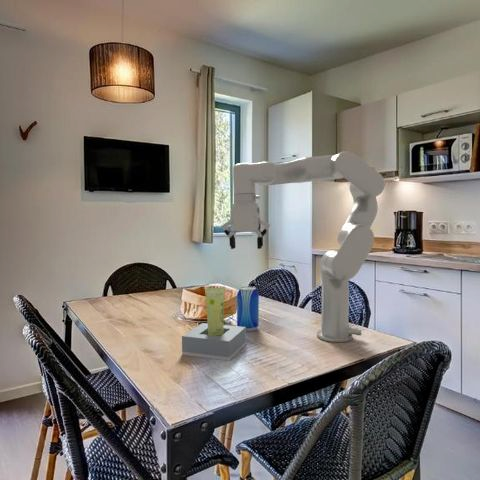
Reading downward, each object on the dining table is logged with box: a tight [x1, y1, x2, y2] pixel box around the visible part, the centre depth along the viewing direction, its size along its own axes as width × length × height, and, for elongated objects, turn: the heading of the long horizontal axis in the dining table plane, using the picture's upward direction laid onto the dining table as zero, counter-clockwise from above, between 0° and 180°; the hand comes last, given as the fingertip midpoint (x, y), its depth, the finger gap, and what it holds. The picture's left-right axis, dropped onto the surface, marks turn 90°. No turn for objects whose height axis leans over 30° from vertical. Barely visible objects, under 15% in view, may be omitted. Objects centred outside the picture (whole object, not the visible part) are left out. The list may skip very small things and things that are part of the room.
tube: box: [204, 286, 226, 336], centre depth 129 cm, size 6×5×20 cm
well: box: [181, 322, 247, 362], centre depth 129 cm, size 16×16×6 cm
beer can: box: [236, 286, 260, 332], centre depth 152 cm, size 8×8×16 cm
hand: (246, 248), depth 138 cm, fingers open, 9 cm apart
